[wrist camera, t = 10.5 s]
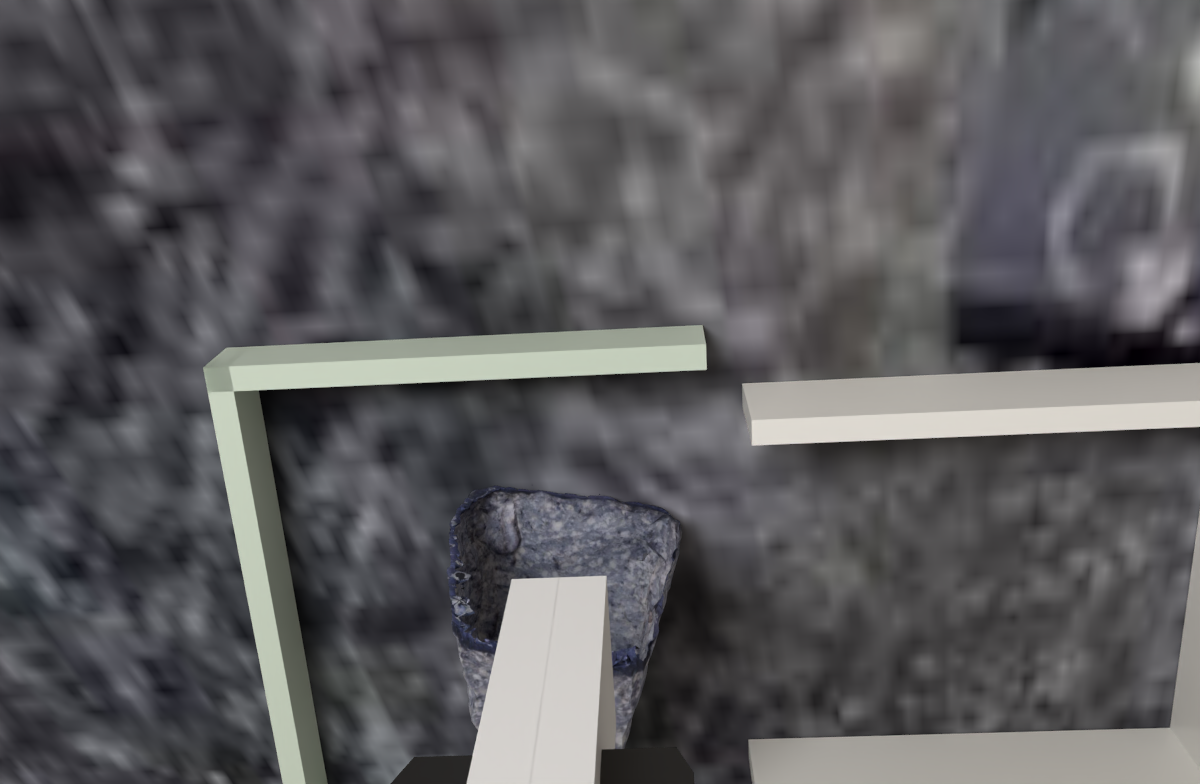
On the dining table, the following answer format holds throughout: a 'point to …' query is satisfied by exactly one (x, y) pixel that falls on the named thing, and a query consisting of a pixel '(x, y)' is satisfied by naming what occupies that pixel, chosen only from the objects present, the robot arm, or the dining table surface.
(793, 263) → the dining table surface
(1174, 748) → the frame
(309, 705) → the pale green u-shaped frame
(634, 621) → the stone
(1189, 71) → the dining table surface
